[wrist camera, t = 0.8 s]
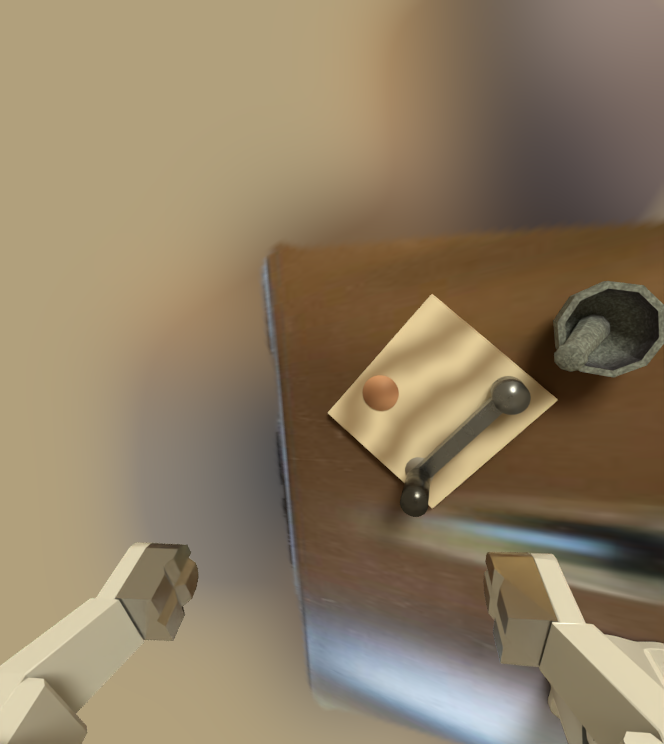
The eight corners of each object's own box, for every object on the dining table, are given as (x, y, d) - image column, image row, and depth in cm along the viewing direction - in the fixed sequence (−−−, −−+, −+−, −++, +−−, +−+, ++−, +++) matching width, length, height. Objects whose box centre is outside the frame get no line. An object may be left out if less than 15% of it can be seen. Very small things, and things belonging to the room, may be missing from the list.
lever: (533, 391, 46) (549, 410, 38) (422, 491, 53) (417, 524, 45) (507, 369, 46) (518, 384, 39) (400, 471, 53) (392, 500, 45)
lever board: (554, 396, 48) (558, 400, 46) (432, 502, 55) (432, 509, 54) (432, 293, 49) (431, 293, 48) (330, 410, 57) (327, 413, 55)
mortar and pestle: (617, 268, 43) (676, 259, 32) (651, 342, 44) (720, 359, 32) (517, 313, 47) (537, 320, 36) (549, 381, 47) (579, 408, 36)
